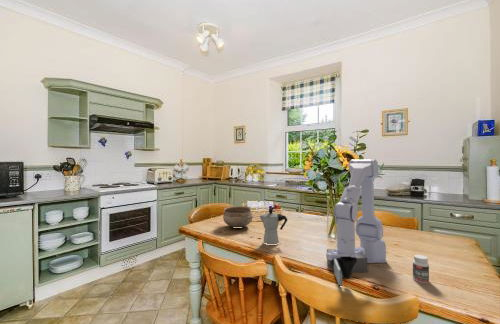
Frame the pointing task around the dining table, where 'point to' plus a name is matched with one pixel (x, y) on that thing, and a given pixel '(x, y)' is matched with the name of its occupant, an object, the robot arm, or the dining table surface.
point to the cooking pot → (237, 216)
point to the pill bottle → (420, 269)
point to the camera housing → (359, 265)
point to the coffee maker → (272, 226)
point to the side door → (337, 272)
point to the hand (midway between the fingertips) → (346, 277)
